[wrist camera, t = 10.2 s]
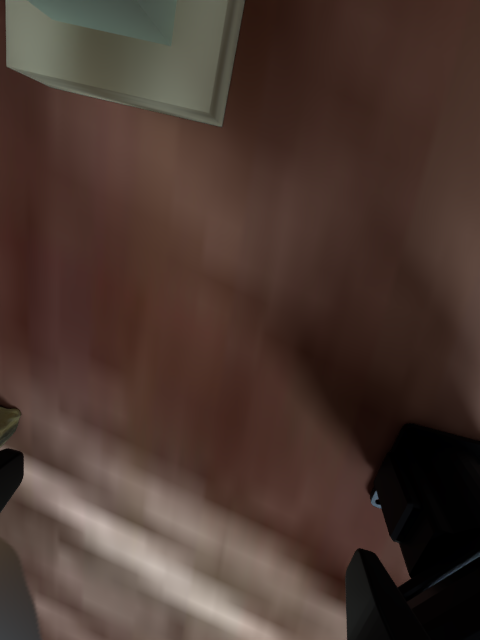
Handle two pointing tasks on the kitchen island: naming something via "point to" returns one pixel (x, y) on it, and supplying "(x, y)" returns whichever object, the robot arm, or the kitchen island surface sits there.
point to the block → (116, 16)
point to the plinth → (133, 59)
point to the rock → (8, 423)
